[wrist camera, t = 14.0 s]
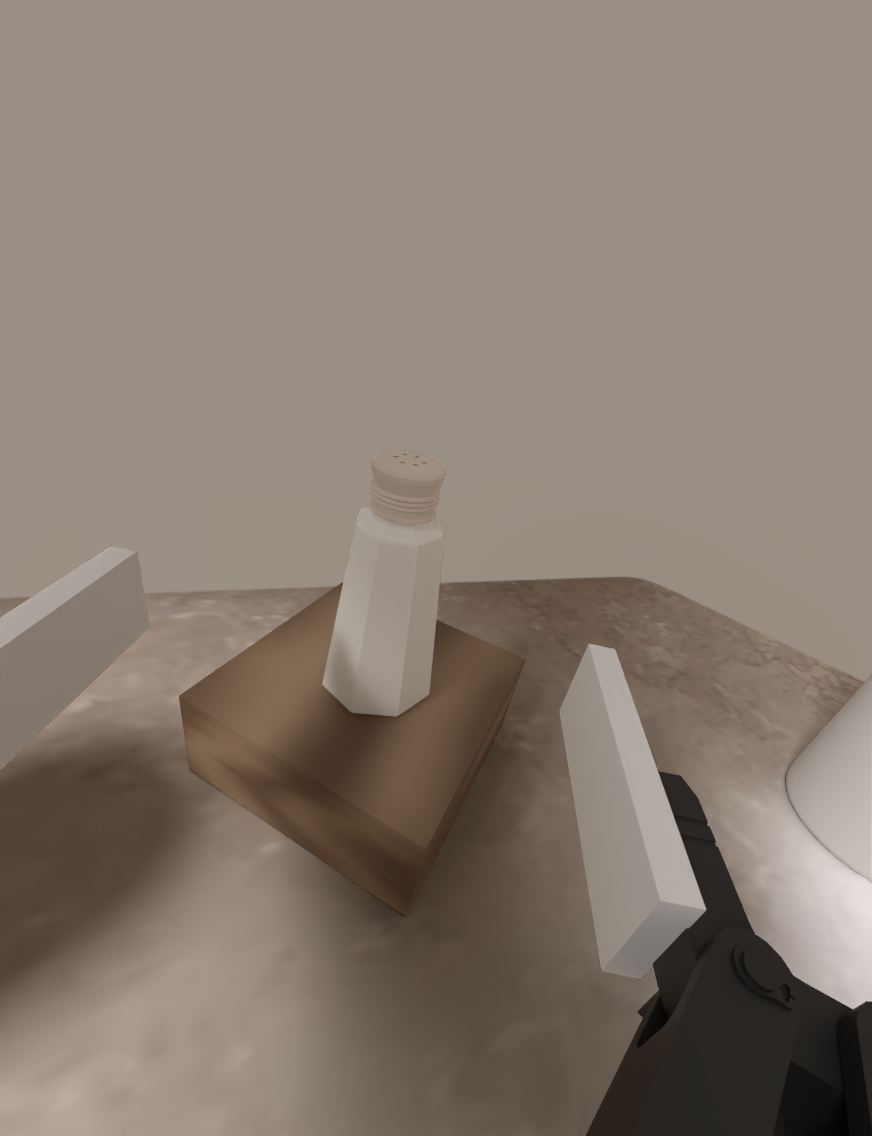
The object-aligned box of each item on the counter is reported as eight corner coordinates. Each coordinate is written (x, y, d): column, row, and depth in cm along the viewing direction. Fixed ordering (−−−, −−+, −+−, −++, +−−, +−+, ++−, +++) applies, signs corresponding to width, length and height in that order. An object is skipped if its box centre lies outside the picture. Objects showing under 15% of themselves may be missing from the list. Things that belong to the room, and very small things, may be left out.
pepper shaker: (309, 648, 24) (320, 433, 18) (407, 633, 26) (443, 438, 21) (337, 732, 20) (361, 489, 14) (450, 706, 22) (509, 488, 17)
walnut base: (189, 770, 23) (179, 695, 20) (340, 640, 32) (346, 579, 30) (405, 917, 19) (425, 848, 16) (502, 721, 29) (524, 659, 26)
